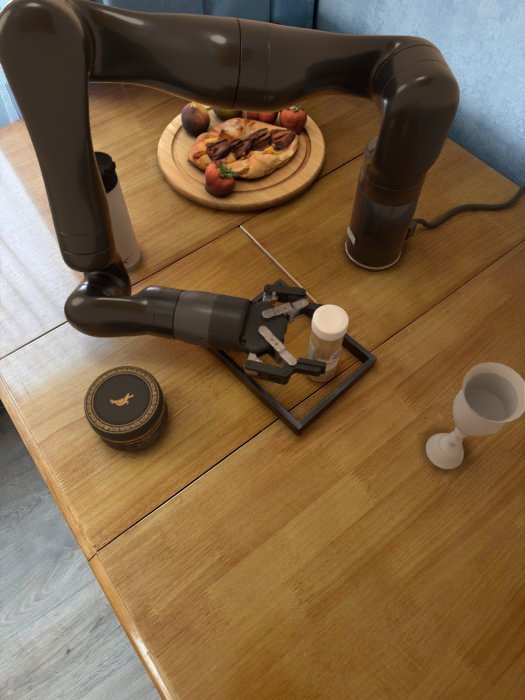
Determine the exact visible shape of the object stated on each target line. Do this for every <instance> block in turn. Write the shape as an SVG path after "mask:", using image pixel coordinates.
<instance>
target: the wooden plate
mask: <svg viewBox="0 0 525 700" xmlns="http://www.w3.org/2000/svg"><path fill="white" fill-rule="evenodd" d="M301 107H302V105H301V104H299V105H297V106H294V107H291V108H288V109H285V110H281V111H277V112H272V113H257V112H248V111H237V110H226V109H220V108H214V107H210V106H206V105H202V104H198V103H195V102H192V101H191V102H189V103H187V104H186V105H185V106H184V107H183V108H182V111H181V113H179V114H177V116H176V117H175V118H173V119H172V120H171V121H170V123H169V124H168V125H167V126H166V127H165V128H164V130H163V132H162V134H161V135H160V138H159V140H158V144H157V149H156V152H157V153H156V156H157V157H156V158H157V164H158V168H159V171H160V172H161V174H162V176H163V178H164V180H165V181H166V182H167V183H168V185H169V186H170V187H171V188H172V189H173V190H174V191H176V192H177V193H178V194H180V195H181V196H182V197H184V198H186V199H188V200H189V201H191V202H193V203H195V204H198V205H200V206H204V207H206V208H211V209H215V210H220V211H227V212H228V211H229V212H249V211H258V210H263V209H264V210H265V209H268V208H269V209H270V208H272V207H275V206H279V205H281V204H283V203H286V202H288V201H290V200H292V199H294V198H297V196H300V195H301V194H302V193H303V192H305V191H306V190H307V189H308V188H309V187H310V186H311V185H313V183H314V182H315V181H316V179H317V178H318V177H319V175H320V174H321V172H322V169H323V166H324V164H325V160H326V153H327V152H326V151H327V150H326V142H325V139H324V135H323V133H322V130H321V129H320V127H319V126H318V124H317V123H316V122H315V121H314V120H313V119H312V117H310V116H309V115H308V113H307V111H306V110H305V108H301Z"/></svg>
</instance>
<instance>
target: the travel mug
mask: <svg viewBox="0 0 525 700" xmlns="http://www.w3.org/2000/svg"><path fill="white" fill-rule="evenodd" d="M94 153H95V157H96V161H97V165H98V169H99V172H100V175H101V178H102V182H103V185H104V188H105V192H106V195H107V199H108V204H109V208H110V213H111V218H112V224H113V230H114V236H115V243H116V248H117V250H118V252H119V254H120V256H121V258H122V260H123V263H124V265H125V267H126V269H127V271H128V273H130V272H132V271H134V270H135V269H137V268H138V266H139V265H140V263H141V261H142V254H141V251H140V247H139V244H138V240H137V237H136V234H135V230H134V226H133V224H132V220H131V216H130V213H129V210H128V206H127V202H126V200H125V199H126V198H125V196H124V193H123V190H122V186H121V183H120V180H119V176H118V174H117V172H116V169H117V164H116V161H114V159H113V158H112V156H111V155H110V154H109V153H106V152H105V151H98V150H97V151H94Z"/></svg>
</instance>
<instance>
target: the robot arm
mask: <svg viewBox="0 0 525 700" xmlns="http://www.w3.org/2000/svg"><path fill="white" fill-rule="evenodd" d="M0 67H1V70H2V72H3V75H4V77H5V79H6V82H7V84H8V86H9V89H10V91H11V94H12V96H13V98H14V101H15V103H16V105H17V107H18V110H19V112H20V114H21V118H22V119H23V121H24V124H25V127H26V130H27V132H28V135H29V138H30V141H31V144H32V147H33V149H34V153H35V156H36V159H37V162H38V165H39V169H40V173H41V176H42V181H43V185H44V189H45V193H46V197H47V203H48V206H49V211H50V215H51V219H52V223H53V229H54V232H55V236H56V241H57V244H58V248H59V251H60V255H61V258H62V260H63V261H64V264H65V265H66V266H67V267H68V268H69V269H71V271H75V272H79V273H82V275H83V279H82V280H81V281H80V282H79V284H77V286H76V287H75V288H74V290H72V291H71V293H70V294H69V296H68V297H67V298H66V300H65V302H64V306H63V314H64V317H65V320H66V321H67V322H68V324H69V325H70V326H71V327H72V328H73V329H75V331H78V332H79V333H81V334H82V335H86V336H89V337H93V338H99V339H100V338H101V339H114V338H115V339H116V338H129V337H130V338H133V337H141V336H151V337H152V336H153V337H157V338H162V339H167V340H172V341H179V342H182V343H185V344H188V345H191V346H197V347H201V348H206V347H207V348H212V349H218V350H224V351H225V352H231V353H236V354H241V353H243V354H246V355H248V357H247V359H246V360H244V361H243V369H244V373H245V375H246V376H248V377H252V378H253V379H257V380H261V381H265V382H269V383H274V384H278V385H281V386H286V385H288V384H289V381H290V379H291V378H292V377H293V375H295V374H300V375H303V376H304V375H305V376H308V375H309V376H315V377H317V376H320V374H325V371H326V365H327V363H326V362H323V361H317V360H311V359H307V357H306V358H305V357H299V356H298V359H297V358H296V357H295V356H294V355H293V354H292V353H291V352H290V351H289V350H288V349H287V347H286V345H285V339H286V338H285V337H286V334H287V331H288V325H291V324H292V323H294V322H295V320H298V319H300V318H303V317H307V319H310V318H313V315H314V312H315V311H316V310H317V309H318V308H319V307H321V306H323V305H325V304H323V303H317V302H313V301H309V299H308V296H307V288H304V287H298V286H290V285H289V286H281V285H273V283H266V284H264V286H263V291H264V297H263V301H262V302H253V301H251V300H252V299H249V298H244V297H240V296H235V295H234V296H233V295H227V294H223V293H216V292H209V291H203V290H187V289H181V288H176V287H175V288H174V287H168V286H163V285H149V286H146V287H145V288H143V289H141V290H140V291H138V292H137V293H134V294H132V293H133V286H132V280H131V277H130V273H129V272H128V271H127V269H126V267H125V265H124V263H123V260H122V258H121V256H120V254H119V252H118V250H117V248H116V243H115V236H114V230H113V224H112V218H111V213H110V208H109V204H108V199H107V195H106V192H105V188H104V185H103V182H102V178H101V175H100V172H99V169H98V165H97V161H96V157H95V153H94V152H95V149H94V142H93V136H92V130H91V129H92V128H91V119H90V118H91V117H90V116H91V115H90V83H96V84H97V83H98V84H99V83H104V84H124V85H125V84H126V85H135V86H142V87H145V88H150V89H153V90H157V91H160V92H163V93H165V94H167V95H171V96H173V97H176V98H180V99H183V100H186V101H188V102H191V103H192V102H195V103H198V104H202V105H206V106H210V107H214V108H220V109H226V110H237V111H248V112H257V113H272V112H277V111H281V110H285V109H288V108H291V107H297V106H300V105H301V104H303V103H306V102H309V101H311V100H313V99H316V98H319V97H325V96H341V97H342V96H343V97H351V98H356V99H357V98H358V99H363V100H366V101H370V102H372V103H374V104H375V106H376V108H377V112H378V114H379V116H380V118H381V120H380V126H379V131H378V134H377V135H375V136H373V137H372V138H371V139H370V140H368V142H367V144H366V145H365V147H364V149H363V155H362V158H361V163H360V169H359V175H358V179H357V185H356V190H355V195H354V200H353V205H352V209H351V210H352V211H351V215H350V220H349V225H347V229H346V233H347V235H346V239H345V241H344V252H345V255H346V257H347V258H348V260H349V261H350V262H351V263H352V264H353V265H355V266H357V267H358V268H360V269H362V270H366V271H373V272H378V271H384V270H388V269H390V268H392V267H394V266H395V265H396V264H397V262H398V261H399V260H400V258H401V254H402V249H403V247H404V245H405V242H408V241H409V240H411V238H413V237H414V236H415V233H416V229H417V227H418V224H419V225H421V226H423V227H424V228H427V229H431V228H435V227H437V226H439V225H441V224H442V223H444V221H446V220H448V219H449V218H450V217H452V216H453V215H454V214H457V213H459V212H462V211H466V210H490V211H491V210H501V209H506V208H508V207H511V206H512V205H514V204H515V203H516V202H517V201H518V200H519V199H520V198H521V197H522V196H523V194H524V193H525V184H523V185H522V186H521V187H520V188H519V189H518V191H517V192H516V193H515V194H514V196H513V197H511V199H509V200H508V201H506V202H501V203H495V204H494V203H493V204H490V203H489V204H488V203H487V204H486V203H466V204H462V205H458V206H456V207H454V208H452V209H450V210H448V211H447V212H445V213H444V214H443V215H442V216H441V217H439V218H437V219H436V220H434V221H431V222H428V221H427V220H426V219H424V218H414V216H415V213H416V209H417V206H418V203H419V199H420V195H421V193H422V190H423V187H424V184H425V182H426V178H427V175H428V172H429V170H430V169H431V168H432V167H433V166H434V165H435V164H436V162H437V161H438V159H439V157H440V155H441V153H442V151H443V149H444V147H445V143H446V141H447V138H448V136H449V133H450V131H451V128H452V127H453V124H454V121H455V118H456V115H457V113H458V109H459V105H460V98H461V91H460V90H461V89H460V84H459V82H458V80H457V79H456V76H455V74H454V73H453V71H452V69H451V68H450V66H449V64H448V62H447V60H446V59H445V57H444V55H443V53H442V52H441V50H440V49H439V48H438V47H437V46H436V44H434V43H433V42H432V41H430V40H429V39H427V38H424V37H420V36H417V35H405V34H404V35H402V34H401V35H400V34H399V35H397V34H349V33H348V34H347V33H338V32H330V31H325V30H320V29H319V30H318V29H312V28H307V27H306V28H304V27H297V26H289V25H283V24H277V23H272V22H268V21H262V20H254V19H248V18H247V19H246V18H239V17H231V16H217V15H209V14H208V15H207V14H195V13H178V12H177V13H174V12H170V13H169V12H146V11H145V12H144V11H137V10H131V9H126V8H121V7H116V6H112V5H109V4H104V3H100V2H95V1H93V0H92V1H91V0H9V2H7V3H6V4H5V6H3V7H2V9H1V10H0ZM276 303H279V304H280V303H281V305H278V306H275V305H276ZM306 315H308V316H306ZM207 348H206V349H207ZM266 355H267V356H268V357H269V358H270V359H271V360H272V361H274V362H275V364H277V365H274V364H271V363H267V362H263V360H261V357H264V356H266ZM309 376H308V377H309Z"/></svg>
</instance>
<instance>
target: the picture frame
mask: <svg viewBox="0 0 525 700" xmlns="http://www.w3.org/2000/svg"><path fill="white" fill-rule="evenodd" d="M272 284H273V285H281V286H290V285H289V284H287V283H286V282H285V281H284V280H283V279H282V278H279V279H277V280H276V281H275V282H273V283H272ZM263 297H264V290H263V291H261V292H260V293H258V294H257V295H256V296H254V297H253V298H252V299H250V300H251V301H253V302H262V301H263ZM305 317H308V315H305ZM309 319H310V320H311V321H312V318H309ZM341 347H343V348H344V349H345V350H347V351H348V352H349V353H350V354H351V355H353V356H354V357H355V358H356V359H357V360H358V361H360V362H361V363H362V364H361V365H360V366H359V367H358V368H356V369H355V370H354V371H353V373H351V374H350V375H349V376H348V377H347V378H346V379H345V380H344V381H342V382H341V383H340V384H339V385H338V386H337V387H336V388H334V390H333V391H331V392H330V393H329V394H328V395H326V397H325V398H324V399H322V400H321V401H320V402H319V403H318V404H317V405H316V406H315V407H314V408H312V409H311V410H310V411H309V412H308V413H307V414H306V415H305V416H303V418H301V419H300V420H299V421H298V420H297V418H295V417H294V416H293V415H292V414H291V413H290V412H289V411H288V410H287V409H286V408H285V407H283V405H281V403H279V402H278V401H277V400H276V399H275V398H274V397H273V396H272V395H271V394H270V393H269V392H268V391H267V390H266V389H265V388H264V387H263V386H262V385H261V384H260V383H259V382H257V381H256V380H255V378H252V377H248V376H246V375H245V373H244V367H241V365H240V364H239V363H237V361H235V359H233V357H231V356H230V355H229V354H228V353H227V351H224V350H218V349H212V348H207V347H205V348H206V349H207V351H209V353H211V354H212V355H213V356H214V357H215V359H217V360H218V361H219V362H220V363H221V364H222V365H223V366H224V367H225V368H226V369H227V370H228V371H229V372H230V373H231V374H232V375H233V376H235V378H236V379H237V380H238V381H240V383H242V384H243V385H244V386H245V387H246V388H247V389H248V390H249V391H250V392H251V393H252V394H253V396H255V397H256V398H257V399H258V400H259V401H260V402H261V403H262V404H263V405H264V406H266V407H267V408H268V409H269V411H271V412H272V413H273V415H275V416H276V417H277V418H278V419H279V420H280V421H281V422H282V423H283V424H284V425H285V426H286V427H287V428H288V429H289V430H290V431H291V432H292V433H293V434H294V435H295V436H296V437H299V436H300V435H302V433H304V431H306V430H307V429H308V428H309V427H310V426H311V425H312V424H314V422H316V421H317V420H318V419H319V418H320V417H321V416H322V415H323V414H324V413H325V412H327V410H329V409H330V408H331V407H332V406H333V405H334V404H335V403H337V401H338V400H340V399H341V398H342V397H343V396H344V395H345V394H346V393H348V391H350V390H351V388H352V387H354V386H355V385H356V384H357V383H358V382H359V381H361V380H362V378H364V377H365V376H366V375H367V374H368V373H370V371H371V370H372V369H373V368H374V367H375V366H376V363H377V360H378V358H377V356H375V355H374V354H373V353H371V352H370V351H369V350H368V349H367V348H365V347H364V346H363V345H362V344H360V342H359V341H357V340H356V339H354V338H353V337H352V336H351V335H350V334H349V333H347V332H346V333H345V335H344V337H343V342H342V346H341Z"/></svg>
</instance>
